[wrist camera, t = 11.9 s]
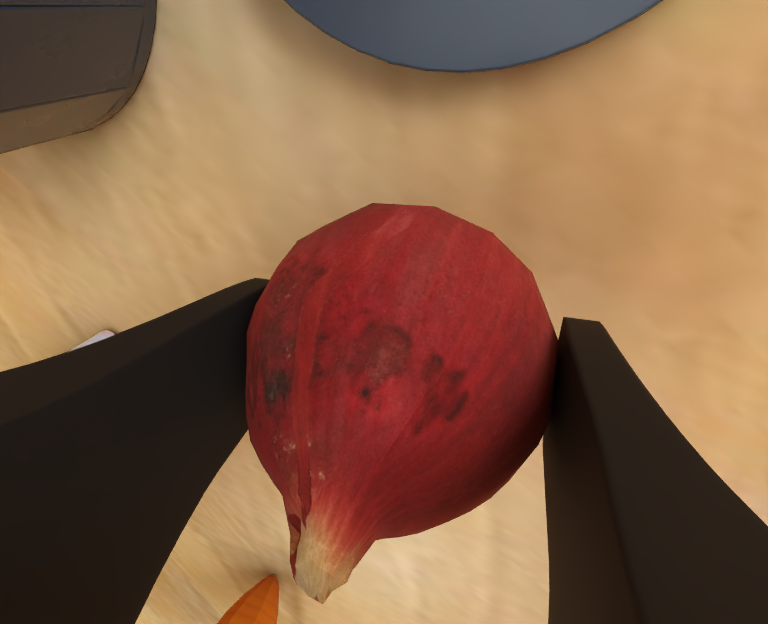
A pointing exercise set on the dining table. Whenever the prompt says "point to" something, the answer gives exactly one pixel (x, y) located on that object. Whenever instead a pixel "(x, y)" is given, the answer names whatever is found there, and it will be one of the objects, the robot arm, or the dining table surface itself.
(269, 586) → the carrot
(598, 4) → the lid
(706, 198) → the dining table surface
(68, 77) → the pan
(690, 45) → the dining table surface
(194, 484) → the robot arm
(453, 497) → the onion
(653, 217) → the dining table surface
